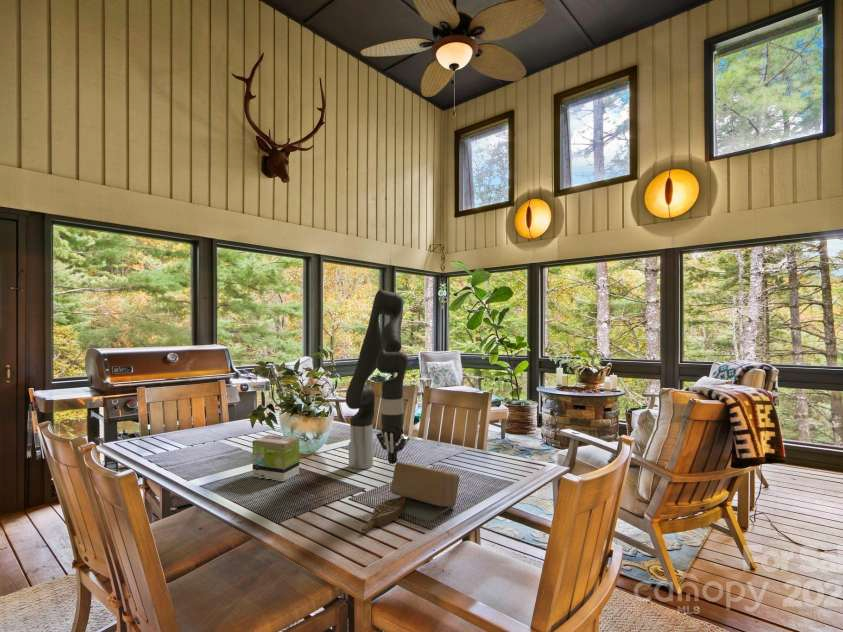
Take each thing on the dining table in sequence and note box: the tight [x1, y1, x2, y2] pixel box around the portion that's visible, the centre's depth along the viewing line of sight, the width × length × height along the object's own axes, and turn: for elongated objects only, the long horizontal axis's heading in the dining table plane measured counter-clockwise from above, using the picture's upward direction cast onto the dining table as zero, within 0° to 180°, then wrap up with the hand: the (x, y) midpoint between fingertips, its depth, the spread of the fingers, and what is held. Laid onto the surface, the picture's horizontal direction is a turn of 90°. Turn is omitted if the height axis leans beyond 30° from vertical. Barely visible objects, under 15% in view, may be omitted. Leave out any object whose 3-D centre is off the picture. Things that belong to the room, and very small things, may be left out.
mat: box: [382, 494, 453, 522], centre depth 146 cm, size 20×14×1 cm
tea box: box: [251, 434, 300, 481], centre depth 176 cm, size 15×10×15 cm
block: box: [390, 461, 460, 508], centre depth 147 cm, size 10×10×20 cm
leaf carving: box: [361, 497, 405, 532], centre depth 136 cm, size 7×22×3 cm, turn 153°
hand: (392, 463), depth 151 cm, fingers closed
